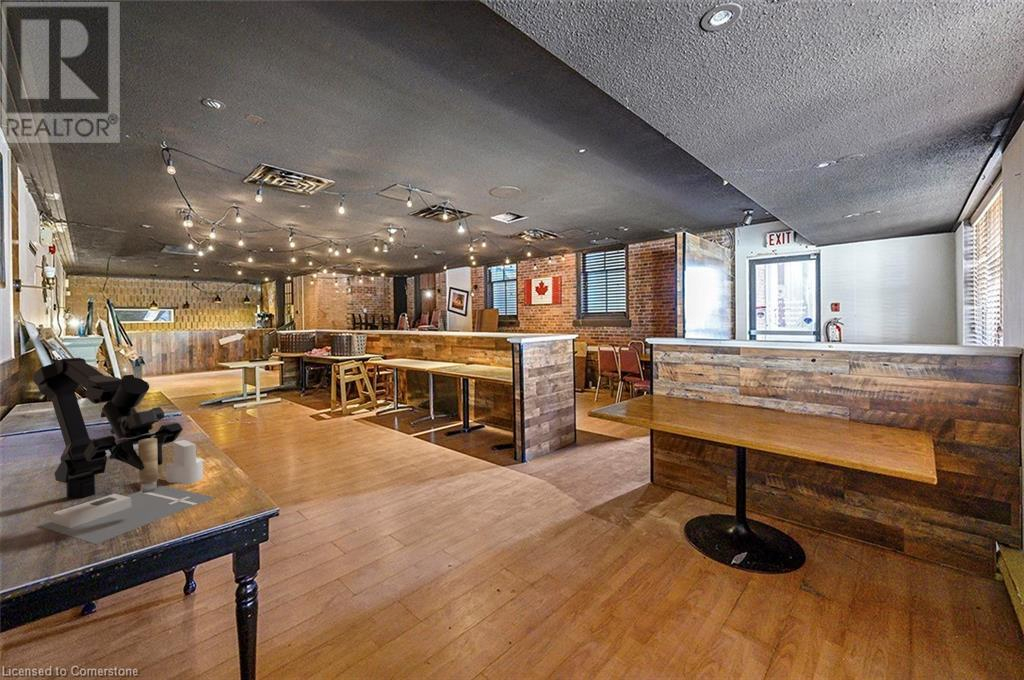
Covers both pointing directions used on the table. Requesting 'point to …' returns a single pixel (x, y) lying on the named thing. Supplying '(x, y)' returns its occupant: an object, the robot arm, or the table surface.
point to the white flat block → (91, 510)
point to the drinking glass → (184, 464)
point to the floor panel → (132, 514)
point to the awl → (148, 464)
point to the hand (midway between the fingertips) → (151, 466)
